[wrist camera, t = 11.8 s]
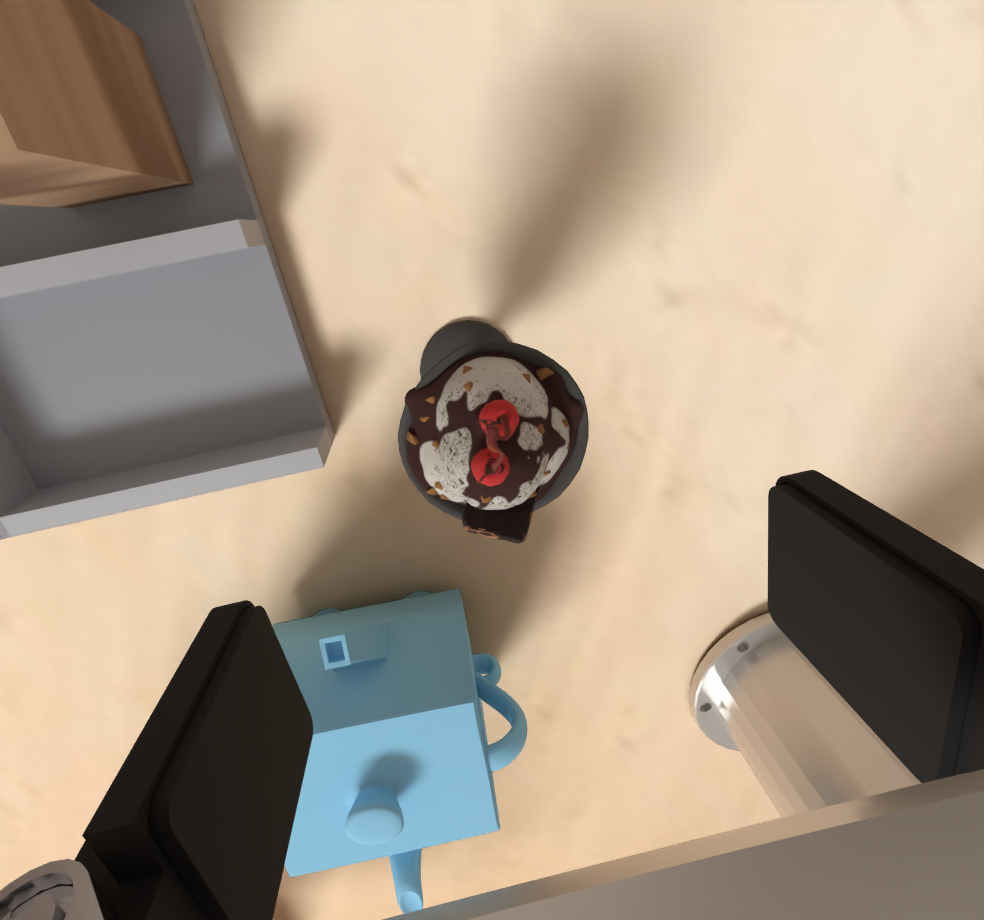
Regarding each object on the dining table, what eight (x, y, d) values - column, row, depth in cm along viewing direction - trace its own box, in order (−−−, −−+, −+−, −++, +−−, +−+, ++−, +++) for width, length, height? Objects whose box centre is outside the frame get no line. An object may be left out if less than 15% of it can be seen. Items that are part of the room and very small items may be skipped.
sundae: (448, 274, 26) (487, 326, 13) (556, 350, 28) (691, 466, 15) (377, 387, 28) (343, 540, 14) (485, 451, 30) (545, 638, 16)
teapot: (486, 511, 32) (522, 649, 21) (520, 732, 39) (559, 914, 29) (206, 563, 31) (102, 733, 20) (295, 780, 38) (252, 987, 27)
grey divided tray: (175, -53, 20) (123, -114, 17) (335, 436, 29) (323, 467, 25) (-243, 20, 20) (-391, -26, 16) (43, 501, 28) (-12, 542, 24)
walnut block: (140, 36, 20) (-123, -148, 10) (193, 184, 22) (18, 149, 12) (3, 60, 20) (-402, -104, 10) (69, 207, 22) (-212, 192, 12)
